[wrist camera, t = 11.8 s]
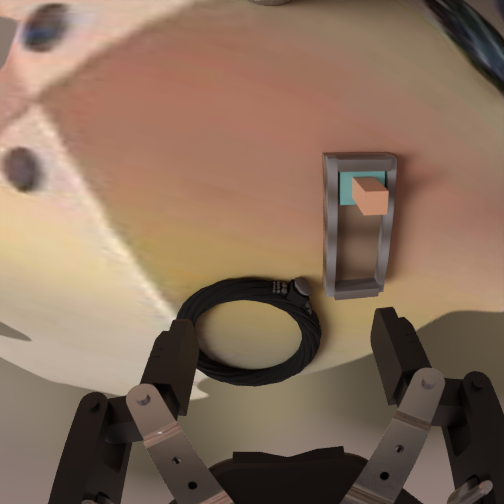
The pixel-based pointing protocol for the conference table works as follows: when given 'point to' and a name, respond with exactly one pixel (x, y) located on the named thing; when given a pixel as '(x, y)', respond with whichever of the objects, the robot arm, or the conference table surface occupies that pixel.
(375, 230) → the board
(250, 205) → the conference table surface
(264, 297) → the cable lock
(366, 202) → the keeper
